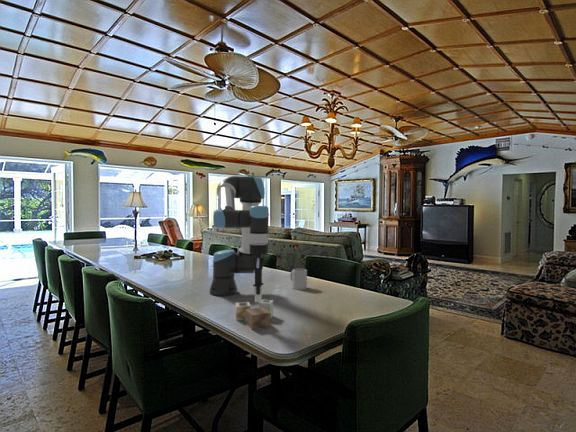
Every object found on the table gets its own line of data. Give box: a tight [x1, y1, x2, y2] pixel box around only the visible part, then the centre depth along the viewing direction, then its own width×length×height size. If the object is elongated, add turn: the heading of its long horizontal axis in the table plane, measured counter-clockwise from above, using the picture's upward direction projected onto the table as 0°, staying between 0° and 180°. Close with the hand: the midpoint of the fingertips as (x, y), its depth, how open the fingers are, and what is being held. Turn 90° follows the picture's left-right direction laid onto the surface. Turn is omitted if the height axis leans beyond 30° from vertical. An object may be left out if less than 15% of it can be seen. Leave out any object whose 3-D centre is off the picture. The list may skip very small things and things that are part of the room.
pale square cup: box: [258, 299, 274, 319], centre depth 150 cm, size 5×5×7 cm
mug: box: [289, 267, 308, 291], centre depth 204 cm, size 12×8×11 cm
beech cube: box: [235, 301, 252, 321], centre depth 148 cm, size 6×6×6 cm
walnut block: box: [244, 307, 272, 330], centre depth 140 cm, size 8×8×6 cm
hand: (258, 301), depth 139 cm, fingers closed
